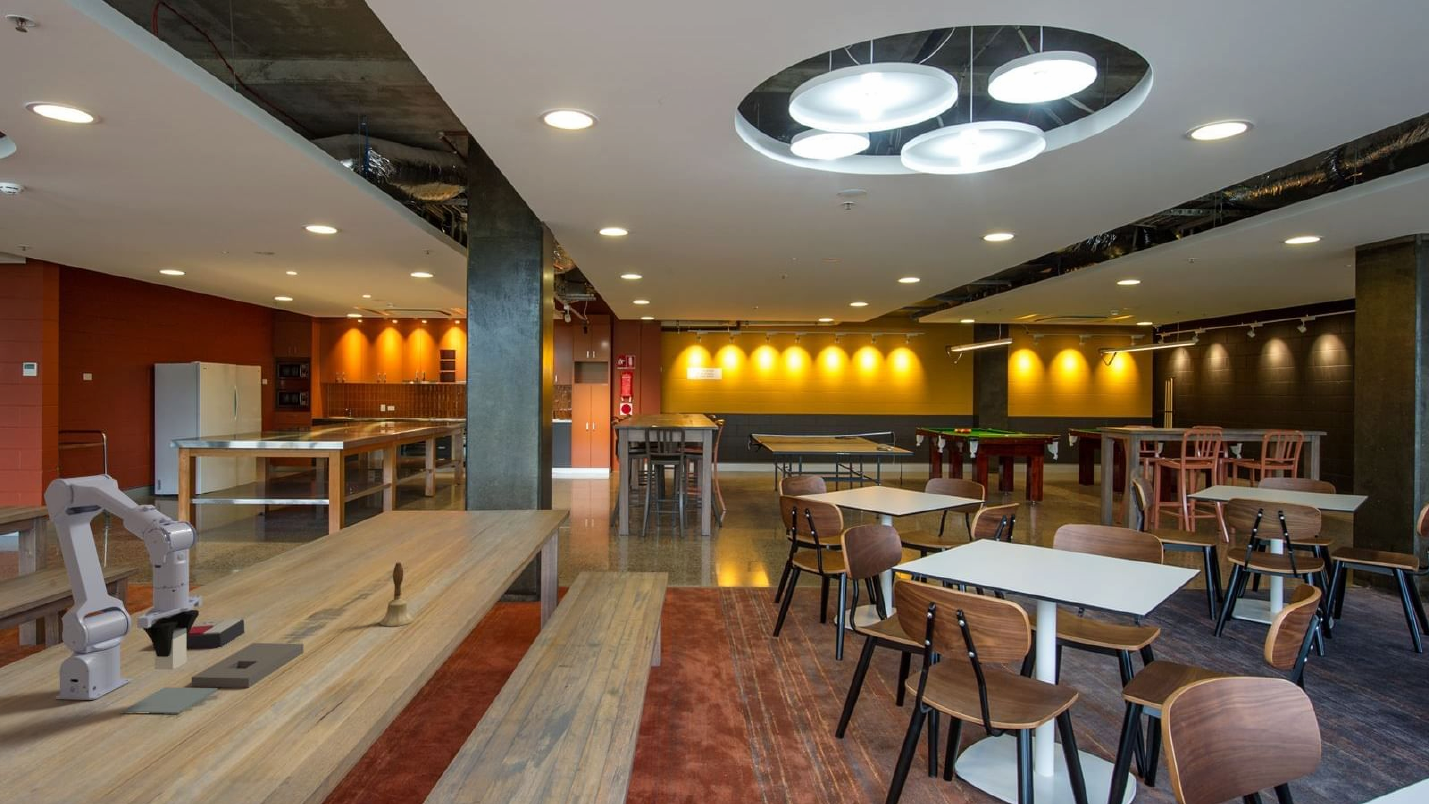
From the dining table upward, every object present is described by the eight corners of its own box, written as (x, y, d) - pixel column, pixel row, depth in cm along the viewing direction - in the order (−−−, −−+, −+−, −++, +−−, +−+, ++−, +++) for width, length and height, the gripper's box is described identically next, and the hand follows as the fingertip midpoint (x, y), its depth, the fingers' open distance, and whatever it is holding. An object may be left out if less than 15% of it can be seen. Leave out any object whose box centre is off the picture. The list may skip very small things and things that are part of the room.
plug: (173, 669, 143) (173, 634, 143) (154, 669, 143) (154, 633, 143) (186, 662, 147) (186, 628, 146) (168, 662, 147) (168, 627, 146)
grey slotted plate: (248, 687, 152) (248, 678, 152) (191, 686, 152) (191, 677, 152) (303, 652, 172) (303, 644, 172) (252, 651, 172) (252, 643, 172)
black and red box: (181, 620, 183) (244, 616, 185) (182, 637, 183) (245, 633, 185) (152, 635, 172) (219, 630, 174) (153, 653, 172) (220, 648, 174)
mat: (178, 714, 139) (178, 712, 139) (121, 713, 139) (121, 711, 139) (217, 690, 150) (217, 688, 150) (164, 689, 150) (164, 687, 150)
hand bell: (404, 615, 201) (404, 557, 200) (419, 621, 195) (419, 562, 195) (374, 622, 194) (374, 563, 194) (389, 629, 189) (389, 568, 189)
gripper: (163, 595, 137) (163, 666, 137) (216, 575, 152) (216, 639, 152) (126, 594, 137) (126, 665, 137) (182, 574, 152) (182, 639, 152)
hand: (171, 652), depth 145 cm, fingers closed on plug, 4 cm apart
